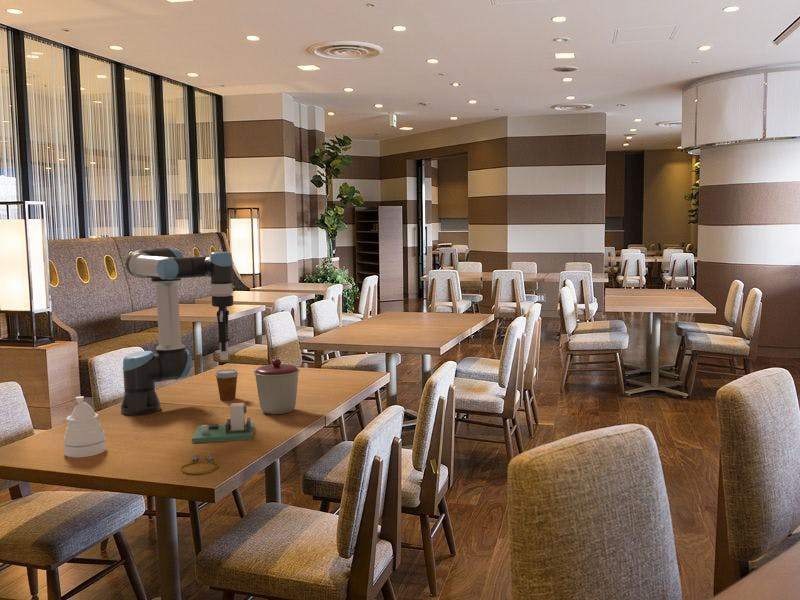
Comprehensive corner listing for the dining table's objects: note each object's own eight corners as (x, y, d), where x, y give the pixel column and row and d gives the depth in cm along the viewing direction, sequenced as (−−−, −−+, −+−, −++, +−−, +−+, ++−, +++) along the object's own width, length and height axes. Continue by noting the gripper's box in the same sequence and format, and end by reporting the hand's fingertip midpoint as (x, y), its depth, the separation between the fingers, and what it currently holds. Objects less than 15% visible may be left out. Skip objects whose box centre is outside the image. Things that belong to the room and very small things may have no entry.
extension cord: (231, 460, 234) (230, 454, 234) (207, 477, 219) (206, 471, 219) (196, 458, 237) (195, 452, 237) (170, 475, 222) (169, 468, 221)
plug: (231, 431, 259) (230, 406, 258) (232, 427, 264) (231, 403, 263) (246, 430, 260) (245, 405, 259) (247, 427, 265) (246, 402, 264)
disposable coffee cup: (226, 402, 308) (225, 374, 306) (211, 399, 313) (210, 372, 312) (243, 398, 315) (242, 370, 314) (229, 395, 321) (228, 368, 320)
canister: (274, 403, 305) (272, 353, 302) (310, 408, 296) (308, 356, 294) (245, 414, 289) (243, 361, 286) (282, 419, 280) (280, 364, 278)
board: (191, 442, 252) (191, 429, 252) (198, 429, 268) (197, 417, 268) (251, 439, 255) (250, 426, 254) (254, 426, 271) (253, 414, 270)
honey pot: (58, 451, 245) (54, 398, 243) (96, 443, 254) (93, 391, 252) (73, 460, 236) (69, 405, 234) (112, 450, 245) (109, 397, 243)
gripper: (231, 297, 259) (233, 363, 262) (234, 292, 272) (236, 355, 275) (209, 297, 258) (211, 363, 261) (213, 293, 271) (215, 356, 274)
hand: (224, 359), depth 268 cm, fingers closed
